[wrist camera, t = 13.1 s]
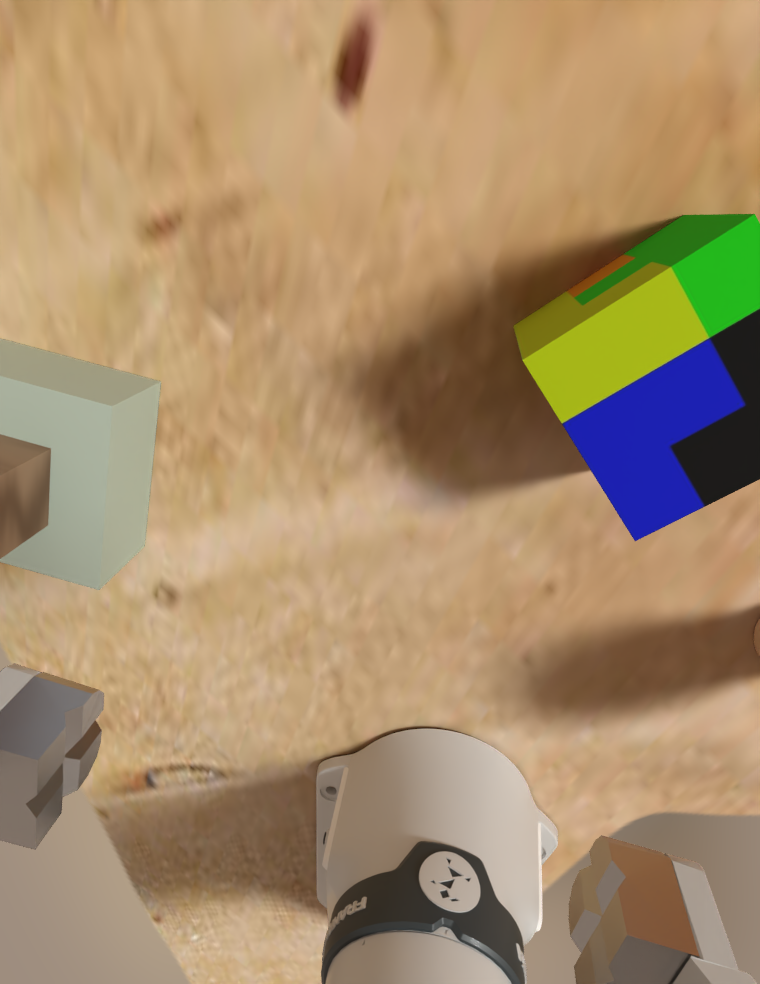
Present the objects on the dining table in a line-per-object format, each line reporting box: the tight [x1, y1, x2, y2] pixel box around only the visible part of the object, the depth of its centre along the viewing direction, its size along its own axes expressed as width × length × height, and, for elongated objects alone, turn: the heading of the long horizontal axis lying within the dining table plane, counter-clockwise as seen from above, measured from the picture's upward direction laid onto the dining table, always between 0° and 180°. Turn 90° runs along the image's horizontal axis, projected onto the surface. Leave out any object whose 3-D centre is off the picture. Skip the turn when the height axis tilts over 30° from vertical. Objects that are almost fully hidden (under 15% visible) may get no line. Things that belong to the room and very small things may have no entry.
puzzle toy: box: [513, 214, 760, 541], centre depth 33 cm, size 10×10×10 cm
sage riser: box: [0, 338, 161, 590], centre depth 42 cm, size 12×12×6 cm
